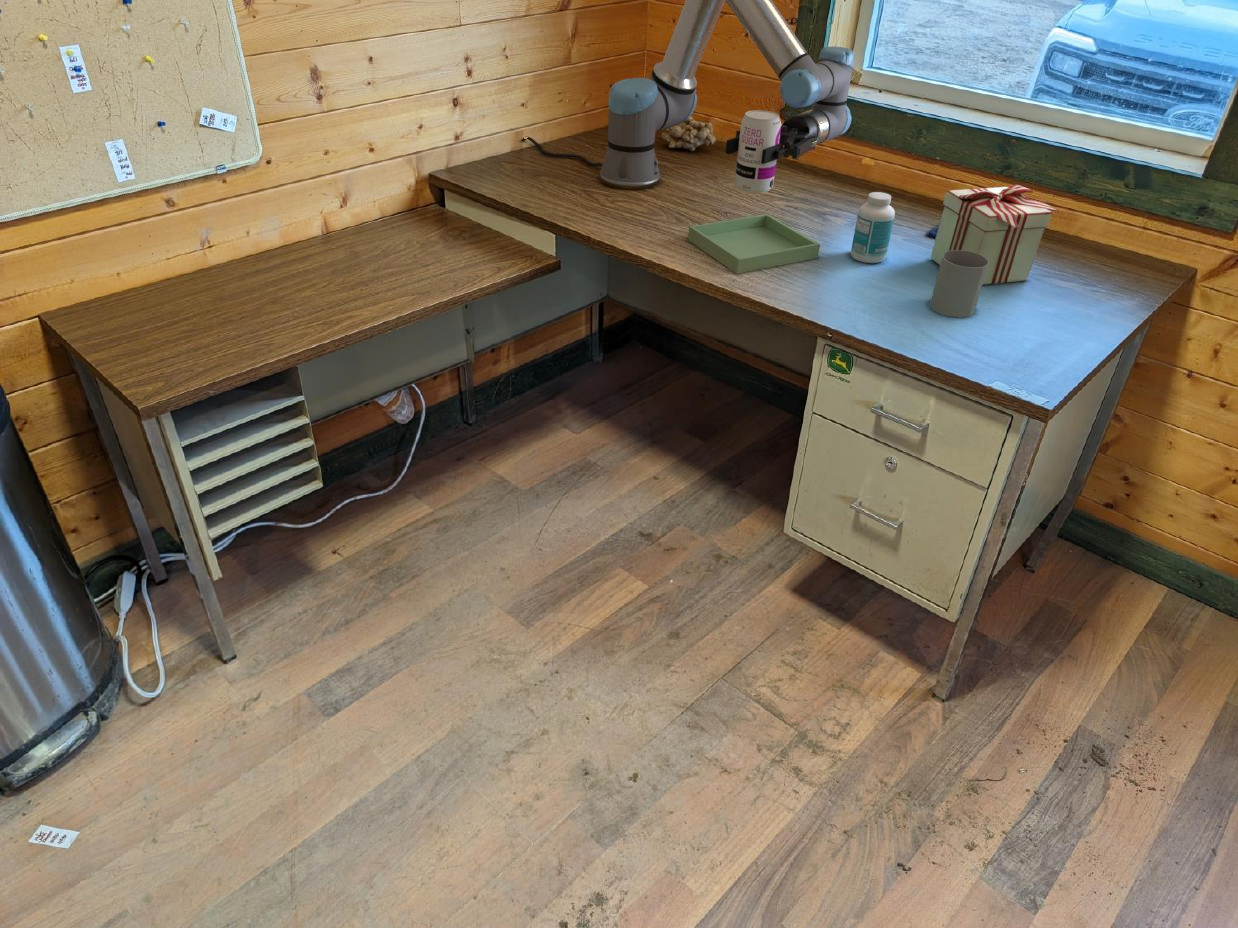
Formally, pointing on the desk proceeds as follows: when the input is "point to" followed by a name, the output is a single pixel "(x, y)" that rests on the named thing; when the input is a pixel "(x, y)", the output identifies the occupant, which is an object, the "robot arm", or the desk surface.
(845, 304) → the desk surface
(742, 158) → the supplement can
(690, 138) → the mineral formation
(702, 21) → the robot arm
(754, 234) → the tray
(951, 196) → the gift box
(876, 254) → the pill bottle
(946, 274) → the cup
